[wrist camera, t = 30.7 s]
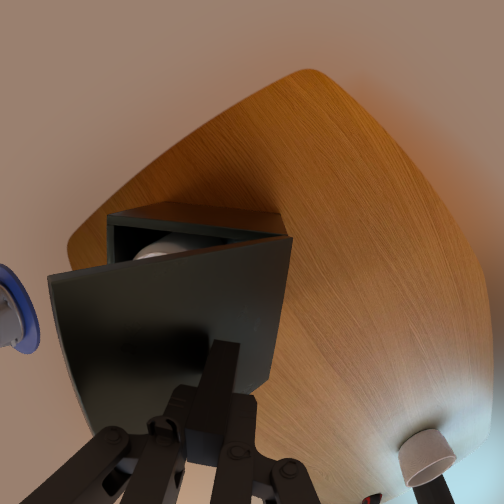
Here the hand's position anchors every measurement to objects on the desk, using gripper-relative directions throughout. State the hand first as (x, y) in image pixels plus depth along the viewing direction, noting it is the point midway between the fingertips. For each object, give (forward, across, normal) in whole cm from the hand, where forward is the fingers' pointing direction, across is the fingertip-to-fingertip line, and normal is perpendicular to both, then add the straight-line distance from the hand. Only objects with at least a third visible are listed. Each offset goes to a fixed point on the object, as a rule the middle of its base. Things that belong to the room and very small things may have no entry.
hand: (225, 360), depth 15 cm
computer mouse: (+21, +47, -75) cm, 91 cm away
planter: (+21, +44, -39) cm, 62 cm away
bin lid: (0, -2, 0) cm, 2 cm away
